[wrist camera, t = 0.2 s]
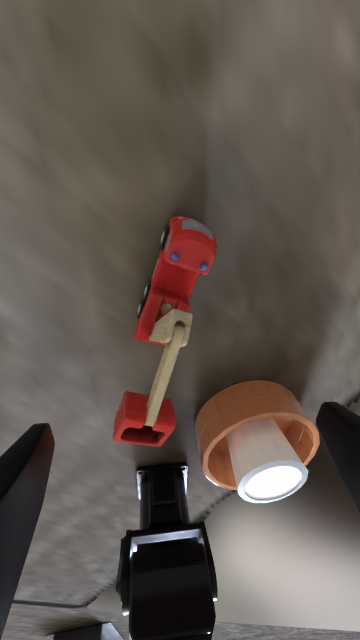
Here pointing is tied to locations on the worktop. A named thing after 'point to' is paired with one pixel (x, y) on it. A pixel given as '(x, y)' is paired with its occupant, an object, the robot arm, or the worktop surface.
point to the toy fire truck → (165, 327)
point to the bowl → (245, 407)
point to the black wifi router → (89, 633)
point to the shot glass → (264, 462)
